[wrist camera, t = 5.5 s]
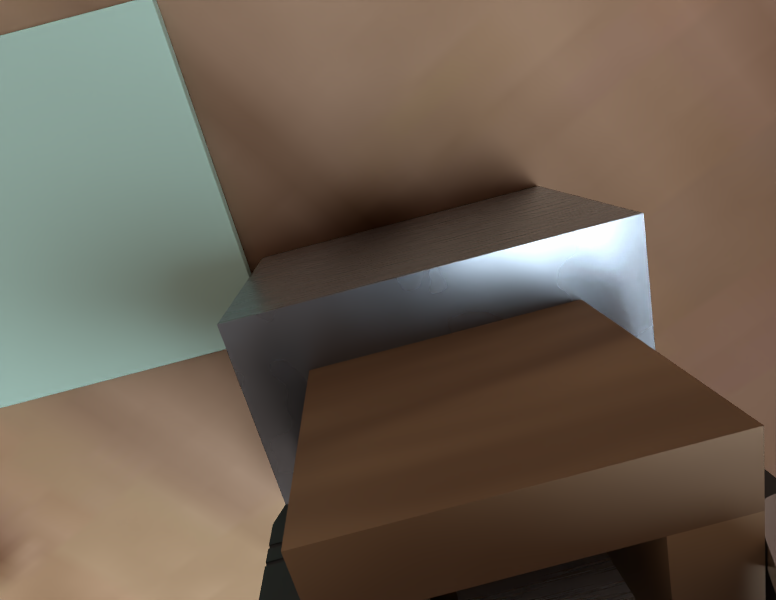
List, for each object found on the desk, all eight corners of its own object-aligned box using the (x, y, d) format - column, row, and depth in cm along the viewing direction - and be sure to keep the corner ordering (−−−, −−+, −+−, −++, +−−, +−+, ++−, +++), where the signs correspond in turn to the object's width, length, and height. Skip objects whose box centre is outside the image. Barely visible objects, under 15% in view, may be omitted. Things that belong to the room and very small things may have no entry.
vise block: (262, 257, 16) (87, 514, 5) (538, 185, 16) (944, 291, 5) (339, 486, 19) (330, 963, 8) (573, 425, 19) (883, 819, 8)
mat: (-203, 93, 14) (-218, 92, 13) (155, -1, 14) (150, -5, 13) (-20, 409, 17) (-29, 415, 17) (271, 333, 17) (270, 337, 16)
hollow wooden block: (309, 370, 11) (280, 552, 6) (581, 299, 11) (764, 425, 6) (378, 579, 13) (397, 842, 8) (610, 519, 13) (766, 746, 8)
